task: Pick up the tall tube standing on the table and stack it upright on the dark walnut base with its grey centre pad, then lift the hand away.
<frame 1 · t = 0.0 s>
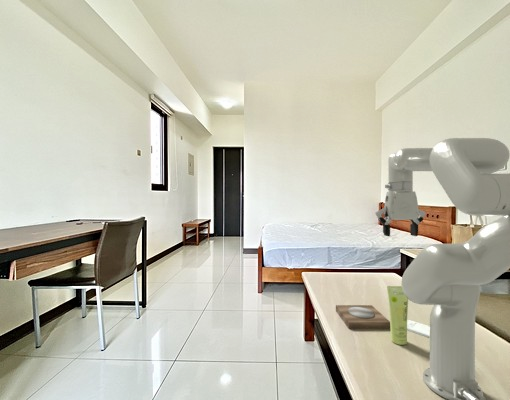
hand: (400, 235, 92), 37 cm above the table, tool pointing down, fingers open, 9 cm apart
tube: (398, 342, 91), on the table
external hard drive: (420, 332, 99), on the table
walnut base: (361, 319, 108), on the table
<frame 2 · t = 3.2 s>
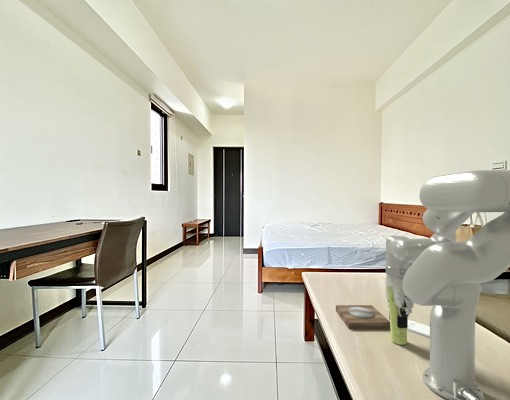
hand: (398, 323, 91), 6 cm above the table, tool pointing down, fingers closed on tube, 4 cm apart
tube: (398, 342, 91), on the table, touching gripper
everything else where it was.
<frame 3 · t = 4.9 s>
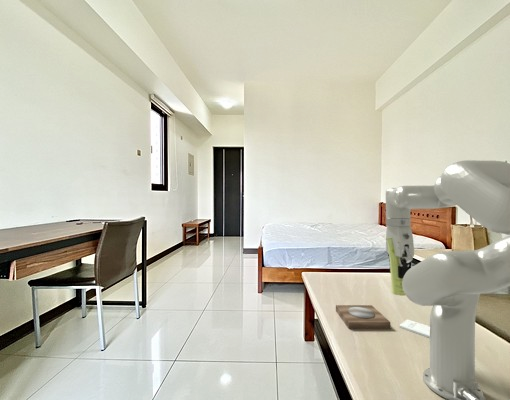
hand: (398, 275, 90), 23 cm above the table, tool pointing down, fingers closed on tube, 4 cm apart
tube: (399, 294, 90), point 17 cm above the table, touching gripper
everything else where it was.
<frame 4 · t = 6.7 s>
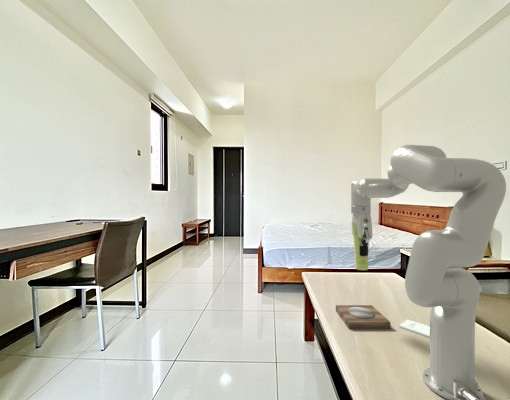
hand: (361, 253, 107), 27 cm above the table, tool pointing down, fingers closed on tube, 4 cm apart
tube: (361, 269, 107), point 21 cm above the table, touching gripper
everything else where it was.
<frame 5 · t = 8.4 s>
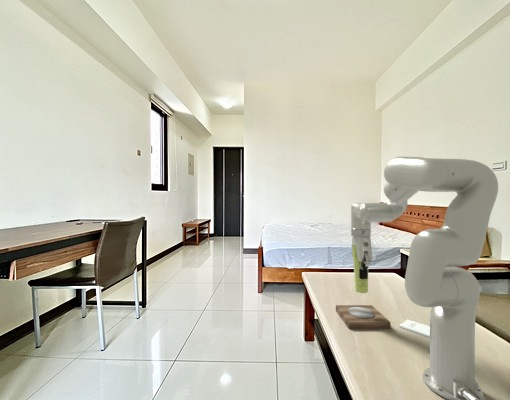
hand: (360, 276, 108), 18 cm above the table, tool pointing down, fingers closed on tube, 4 cm apart
tube: (360, 291, 108), point 11 cm above the table, touching gripper
everything else where it was.
when the fingers open (11 cm above the table, at t = 10.1 s): tube drops 1 cm, resting on walnut base.
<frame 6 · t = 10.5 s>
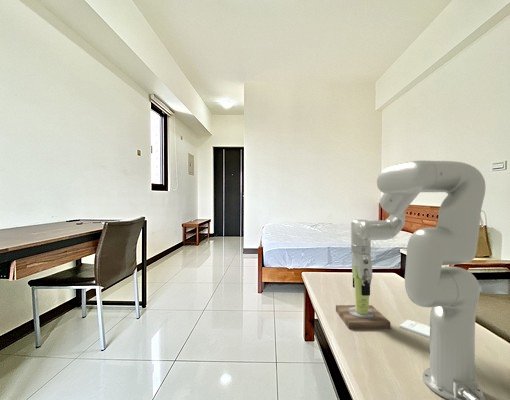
hand: (361, 291, 108), 12 cm above the table, tool pointing down, fingers open, 8 cm apart
tube: (361, 312, 107), point 3 cm above the table, touching walnut base
everything else where it was.
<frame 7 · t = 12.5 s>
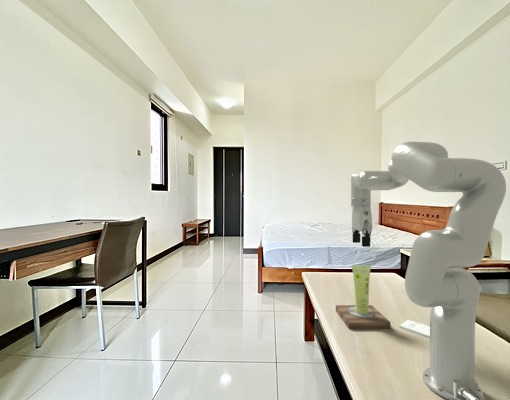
hand: (361, 244, 107), 31 cm above the table, tool pointing down, fingers open, 9 cm apart
nothing on the table moved.
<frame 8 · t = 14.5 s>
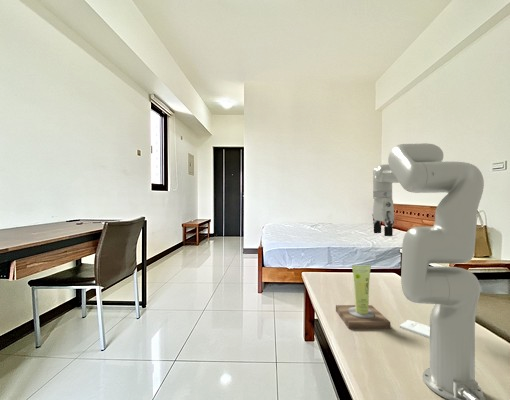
hand: (382, 234, 114), 34 cm above the table, tool pointing down, fingers open, 9 cm apart
nothing on the table moved.
at the end: tube inside the target area on the walnut base (0.2 cm from its centre), point 2.8 cm above the walnut base's base; tube tilted 0°; the gripper is holding nothing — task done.
